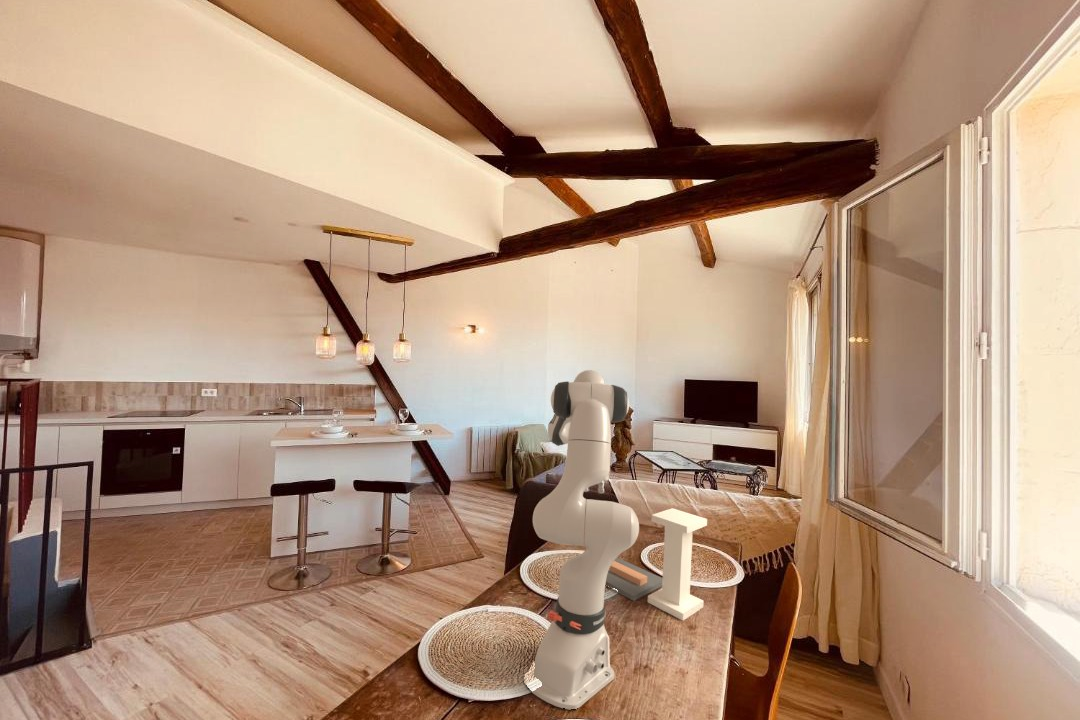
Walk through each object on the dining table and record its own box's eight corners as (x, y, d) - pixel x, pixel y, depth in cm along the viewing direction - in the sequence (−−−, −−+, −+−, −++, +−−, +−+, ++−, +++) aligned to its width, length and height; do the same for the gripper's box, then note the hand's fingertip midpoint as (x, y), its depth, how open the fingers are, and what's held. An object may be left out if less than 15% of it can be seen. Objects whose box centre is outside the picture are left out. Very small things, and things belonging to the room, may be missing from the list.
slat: (585, 559, 156) (585, 553, 157) (592, 556, 159) (592, 550, 159) (640, 586, 139) (640, 579, 139) (647, 582, 141) (647, 576, 141)
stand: (647, 602, 132) (651, 514, 132) (668, 590, 140) (672, 508, 140) (682, 620, 123) (687, 526, 123) (703, 607, 131) (707, 519, 131)
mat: (573, 568, 151) (573, 564, 151) (606, 556, 163) (606, 552, 163) (633, 601, 132) (633, 596, 132) (665, 584, 144) (665, 579, 144)
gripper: (575, 449, 152) (583, 487, 145) (607, 456, 166) (616, 491, 159) (562, 455, 155) (569, 493, 148) (594, 461, 170) (602, 496, 163)
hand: (594, 492), depth 154 cm, fingers open, 8 cm apart
